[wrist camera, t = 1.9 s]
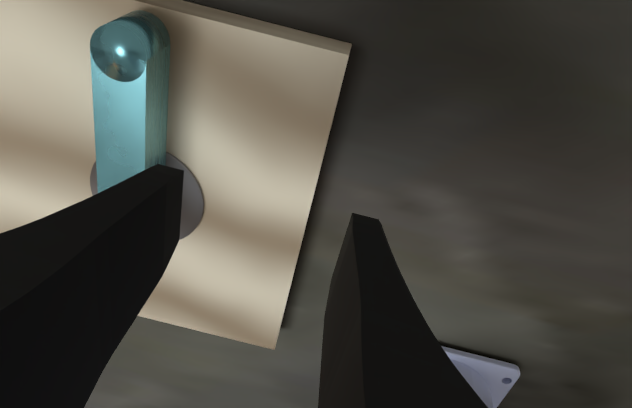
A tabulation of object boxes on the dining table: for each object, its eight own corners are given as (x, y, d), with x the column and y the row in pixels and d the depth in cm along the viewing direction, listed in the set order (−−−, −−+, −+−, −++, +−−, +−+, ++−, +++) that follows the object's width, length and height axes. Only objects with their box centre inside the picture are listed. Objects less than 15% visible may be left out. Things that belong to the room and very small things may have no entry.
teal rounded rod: (169, 229, 21) (150, 258, 20) (116, 216, 21) (93, 243, 20) (180, 19, 16) (155, 34, 15) (110, 1, 16) (78, 14, 14)
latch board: (279, 328, 27) (273, 352, 25) (-37, 249, 27) (-61, 269, 25) (351, 43, 18) (348, 57, 16) (-124, -79, 18) (-168, -75, 16)
